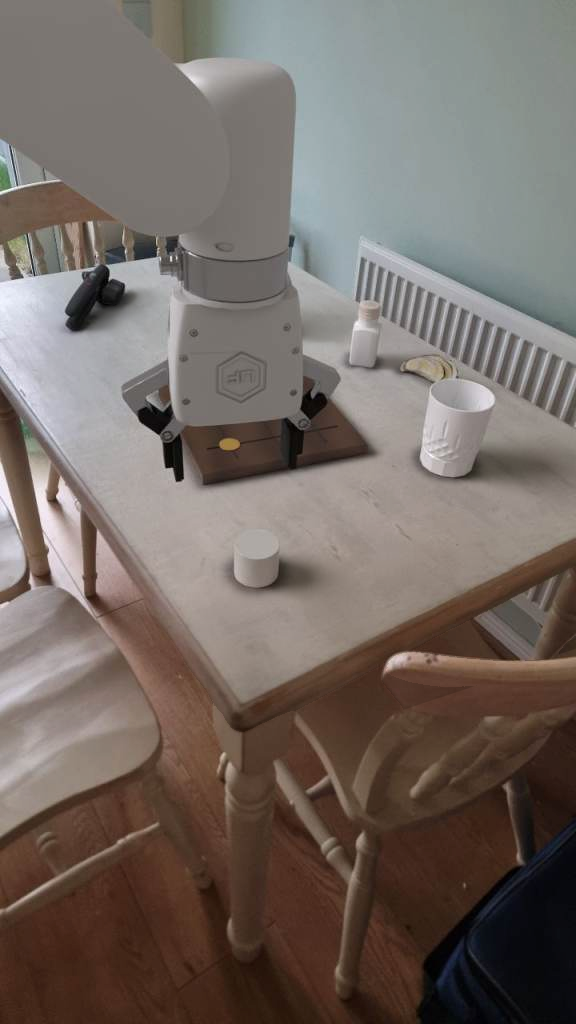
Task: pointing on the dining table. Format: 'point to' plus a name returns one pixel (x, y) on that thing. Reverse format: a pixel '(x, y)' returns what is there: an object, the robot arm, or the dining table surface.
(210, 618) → the dining table surface
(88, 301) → the can opener
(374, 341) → the pepper shaker
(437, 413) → the white cup
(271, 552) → the white cylinder
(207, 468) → the board
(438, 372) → the oyster shell
